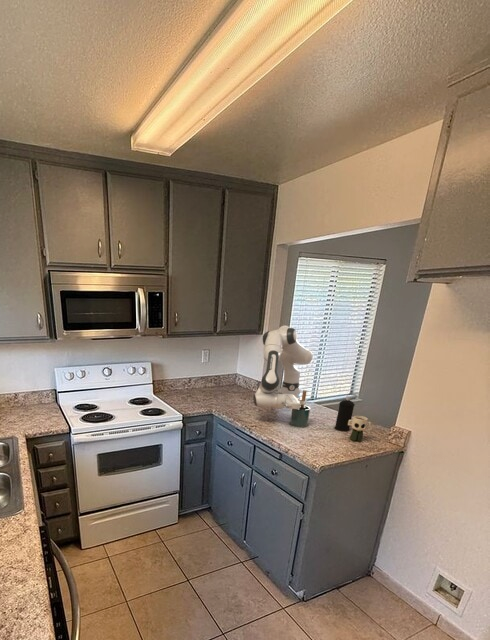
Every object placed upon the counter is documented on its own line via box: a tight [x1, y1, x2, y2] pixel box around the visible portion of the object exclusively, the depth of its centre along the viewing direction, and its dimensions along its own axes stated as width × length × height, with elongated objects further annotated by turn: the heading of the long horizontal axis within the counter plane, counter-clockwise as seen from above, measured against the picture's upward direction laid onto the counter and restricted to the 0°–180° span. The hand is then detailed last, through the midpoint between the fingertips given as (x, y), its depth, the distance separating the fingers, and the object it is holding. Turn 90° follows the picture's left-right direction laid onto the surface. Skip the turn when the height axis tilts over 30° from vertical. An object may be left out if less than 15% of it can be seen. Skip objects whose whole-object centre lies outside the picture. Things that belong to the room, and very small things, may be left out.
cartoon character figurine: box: [348, 415, 372, 442], centre depth 196 cm, size 11×7×13 cm, turn 70°
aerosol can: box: [334, 395, 356, 432], centre depth 210 cm, size 8×8×20 cm
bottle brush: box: [300, 389, 308, 410], centre depth 215 cm, size 4×4×16 cm
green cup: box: [289, 405, 311, 428], centre depth 219 cm, size 10×10×11 cm
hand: (304, 402), depth 214 cm, fingers closed on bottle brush, 2 cm apart
